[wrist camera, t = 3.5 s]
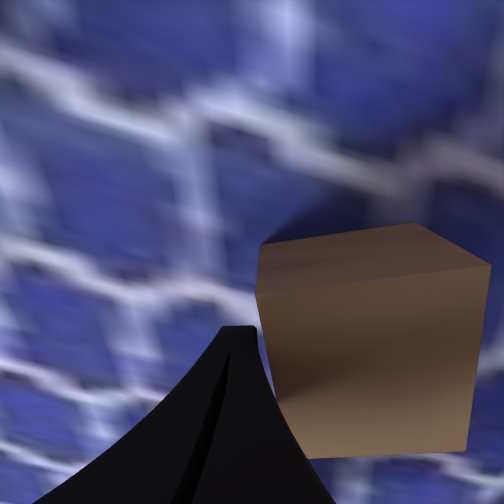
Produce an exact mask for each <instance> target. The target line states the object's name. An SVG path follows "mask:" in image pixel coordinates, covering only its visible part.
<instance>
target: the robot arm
mask: <svg viewBox="0 0 504 504" xmlns="http://www.w3.org/2000/svg"><path fill="white" fill-rule="evenodd" d="M33 504H336V503H335V501H334V500H333V498H332V497H331V496H330V494H329V493H328V491H327V490H326V488H325V486H324V485H323V483H322V482H321V480H320V479H319V477H318V476H317V474H316V472H315V471H314V469H313V468H312V466H311V464H310V463H309V461H308V459H307V458H306V456H305V454H304V452H303V451H302V449H301V447H300V446H299V444H298V442H297V440H296V439H295V437H294V435H293V433H292V432H291V430H290V428H289V426H288V424H287V422H286V420H285V418H284V416H283V414H282V412H281V410H280V408H279V406H278V403H277V401H276V399H275V397H274V394H273V392H272V390H271V387H270V384H269V382H268V379H267V377H266V374H265V371H264V368H263V365H262V361H261V358H260V354H259V350H258V340H257V328H256V327H255V326H253V325H249V326H223V327H222V328H221V329H220V330H219V332H218V333H217V335H216V336H215V337H214V339H213V340H212V342H211V343H210V344H209V346H208V347H207V348H206V350H205V351H204V352H203V354H202V355H201V356H200V358H199V359H198V360H197V361H196V363H195V364H194V365H193V366H192V368H191V369H190V370H189V371H188V372H187V374H186V375H185V376H184V377H183V378H182V379H181V380H180V382H179V383H178V384H177V385H176V386H175V387H174V388H173V390H172V391H171V392H170V393H169V394H168V395H167V396H166V397H165V398H164V399H163V400H162V401H161V402H160V403H159V404H158V405H157V406H156V407H155V408H154V409H153V410H152V411H151V412H150V413H149V414H148V415H147V416H146V417H145V418H143V419H142V420H141V421H140V422H139V423H138V424H137V425H136V426H135V427H133V428H132V429H131V430H130V431H129V432H128V433H127V434H125V435H124V436H123V437H122V438H121V439H120V440H118V441H117V442H116V443H115V444H114V445H112V446H111V447H110V448H109V449H107V450H106V451H105V452H104V453H102V454H101V455H100V456H98V457H97V458H96V459H95V460H93V461H92V462H91V463H89V464H88V465H87V466H85V467H84V468H83V469H81V470H80V471H79V472H77V473H76V474H75V475H73V476H72V477H70V478H69V479H68V480H66V481H65V482H63V483H62V484H61V485H59V486H58V487H56V488H55V489H53V490H52V491H50V492H49V493H47V494H46V495H44V496H43V497H41V498H40V499H38V500H37V501H35V502H34V503H33Z"/></svg>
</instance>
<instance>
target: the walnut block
mask: <svg viewBox="0 0 504 504" xmlns="http://www.w3.org/2000/svg"><path fill="white" fill-rule="evenodd" d="M491 266H492V265H491V264H489V263H487V262H486V261H484V260H482V259H480V258H479V257H477V256H475V255H473V254H471V253H470V252H468V251H466V250H464V249H463V248H461V247H459V246H457V245H455V244H454V243H452V242H450V241H448V240H447V239H445V238H443V237H441V236H439V235H438V234H436V233H434V232H432V231H431V230H429V229H427V228H425V227H423V226H422V225H420V224H418V223H416V222H411V223H404V224H397V225H390V226H384V227H377V228H370V229H363V230H357V231H350V232H343V233H336V234H330V235H323V236H316V237H309V238H303V239H296V240H289V241H283V242H276V243H269V244H262V245H260V253H259V263H258V272H257V281H256V290H255V297H256V302H257V307H258V312H259V317H260V322H261V327H262V331H263V336H264V341H265V346H266V351H267V356H268V361H269V366H270V371H271V376H272V380H273V385H274V390H275V395H276V400H277V403H278V406H279V408H280V410H281V412H282V414H283V416H284V418H285V420H286V422H287V424H288V426H289V428H290V430H291V432H292V433H293V435H294V437H295V439H296V440H297V442H298V444H299V446H300V447H301V449H302V451H303V452H304V454H305V456H306V458H307V459H315V458H336V457H357V456H377V455H398V454H419V453H440V452H460V451H466V445H467V438H468V430H469V423H470V416H471V409H472V402H473V395H474V388H475V380H476V373H477V366H478V359H479V352H480V345H481V337H482V330H483V323H484V316H485V309H486V302H487V295H488V287H489V280H490V273H491Z"/></svg>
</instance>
